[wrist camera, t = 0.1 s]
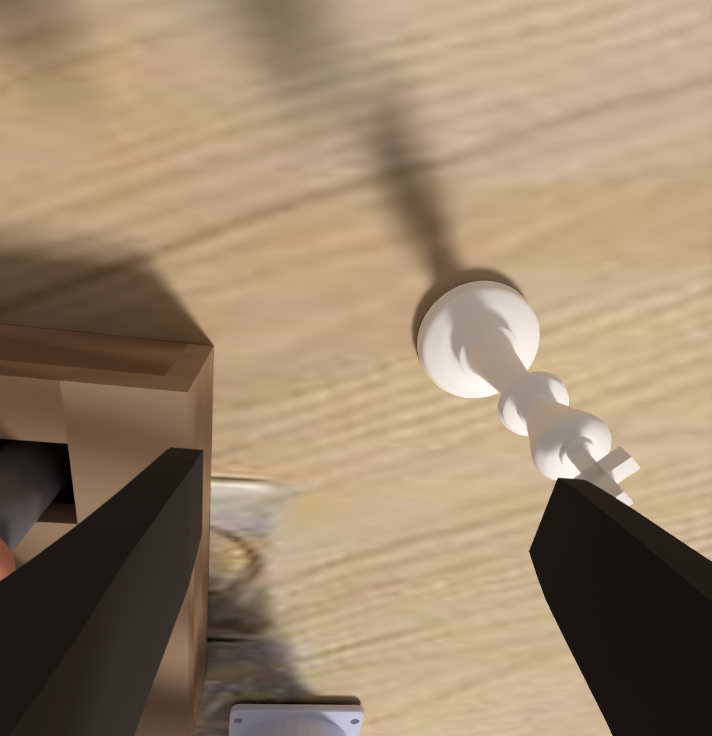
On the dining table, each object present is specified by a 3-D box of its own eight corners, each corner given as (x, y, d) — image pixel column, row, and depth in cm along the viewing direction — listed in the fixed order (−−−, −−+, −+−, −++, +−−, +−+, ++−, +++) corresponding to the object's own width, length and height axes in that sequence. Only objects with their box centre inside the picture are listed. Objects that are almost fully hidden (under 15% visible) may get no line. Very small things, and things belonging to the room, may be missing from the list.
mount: (206, 672, 26) (188, 754, 23) (-4, 668, 25) (-60, 755, 21) (213, 346, 18) (187, 392, 15) (-95, 313, 17) (-208, 355, 13)
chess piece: (392, 338, 19) (462, 506, 10) (489, 253, 18) (672, 353, 9) (464, 413, 20) (581, 615, 11) (556, 340, 19) (769, 500, 10)
